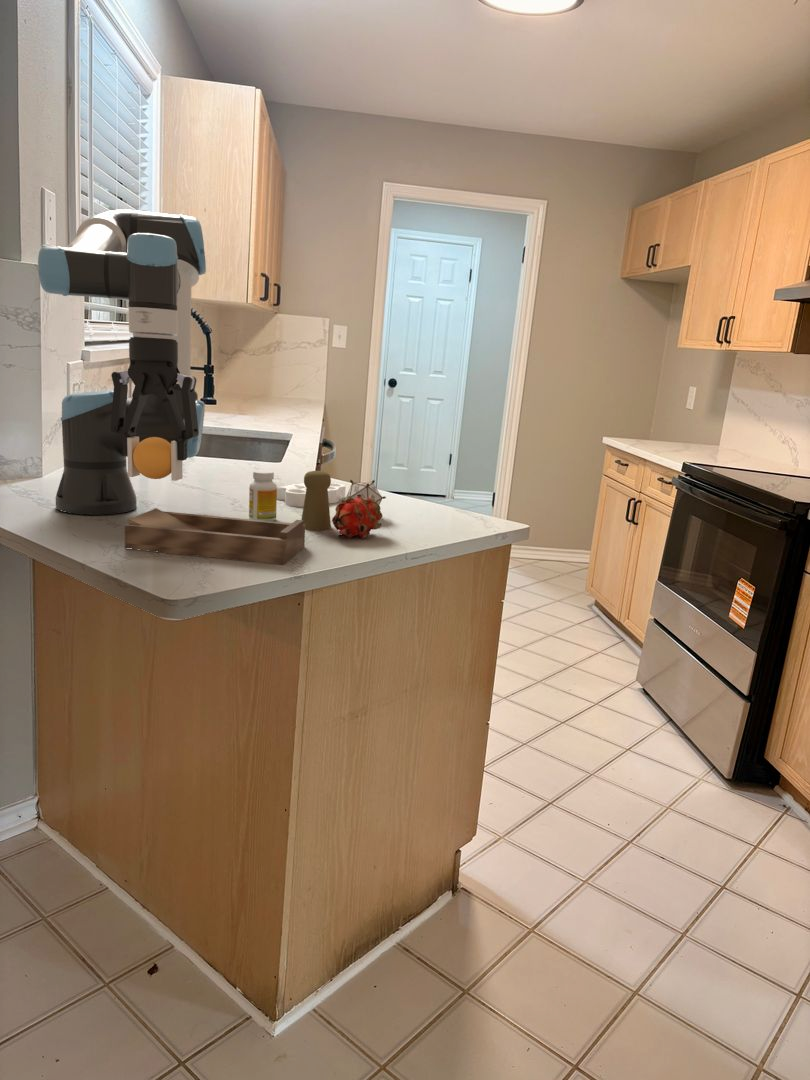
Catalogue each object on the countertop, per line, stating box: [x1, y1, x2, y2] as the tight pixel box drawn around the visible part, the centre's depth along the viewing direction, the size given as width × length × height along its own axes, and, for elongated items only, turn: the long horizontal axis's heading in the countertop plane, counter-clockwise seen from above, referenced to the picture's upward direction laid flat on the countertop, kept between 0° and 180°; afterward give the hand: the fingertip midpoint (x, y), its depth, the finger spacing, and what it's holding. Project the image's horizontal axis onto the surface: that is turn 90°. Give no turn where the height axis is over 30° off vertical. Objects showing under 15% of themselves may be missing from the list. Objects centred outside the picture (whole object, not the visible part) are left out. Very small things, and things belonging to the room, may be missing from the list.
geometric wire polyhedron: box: [340, 479, 387, 506], centre depth 161 cm, size 9×8×10 cm
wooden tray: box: [124, 508, 306, 566], centre depth 131 cm, size 27×12×5 cm, turn 82°
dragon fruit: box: [331, 495, 383, 540], centre depth 145 cm, size 8×8×12 cm
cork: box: [300, 470, 332, 532], centre depth 150 cm, size 6×6×11 cm
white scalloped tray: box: [277, 482, 346, 508], centre depth 178 cm, size 3×18×15 cm
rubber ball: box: [133, 437, 171, 480], centre depth 129 cm, size 7×7×7 cm
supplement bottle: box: [248, 469, 278, 522], centre depth 153 cm, size 5×5×10 cm
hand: (155, 477), depth 130 cm, fingers closed on rubber ball, 7 cm apart
